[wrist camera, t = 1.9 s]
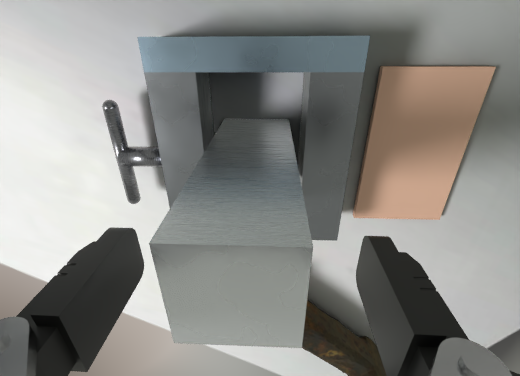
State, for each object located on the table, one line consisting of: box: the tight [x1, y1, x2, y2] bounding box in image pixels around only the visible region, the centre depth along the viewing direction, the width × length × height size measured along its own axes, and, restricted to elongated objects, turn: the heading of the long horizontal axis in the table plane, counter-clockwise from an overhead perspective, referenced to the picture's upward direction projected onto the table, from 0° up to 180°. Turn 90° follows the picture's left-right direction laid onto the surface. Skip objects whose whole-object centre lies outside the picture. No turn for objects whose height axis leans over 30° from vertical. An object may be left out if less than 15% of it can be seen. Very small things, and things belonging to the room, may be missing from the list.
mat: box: [353, 66, 496, 220], centre depth 18 cm, size 10×6×1 cm, turn 0°
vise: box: [102, 36, 370, 240], centre depth 17 cm, size 12×14×3 cm
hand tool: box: [302, 300, 387, 376], centre depth 25 cm, size 19×4×5 cm, turn 47°
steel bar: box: [149, 119, 313, 348], centre depth 13 cm, size 4×4×12 cm
